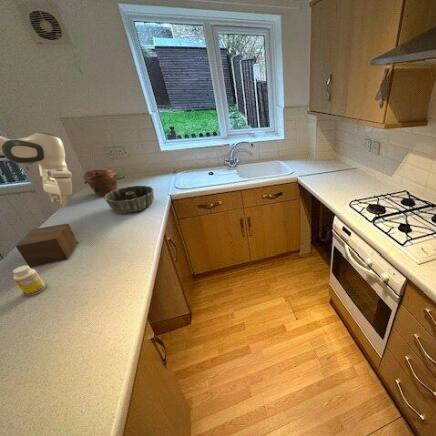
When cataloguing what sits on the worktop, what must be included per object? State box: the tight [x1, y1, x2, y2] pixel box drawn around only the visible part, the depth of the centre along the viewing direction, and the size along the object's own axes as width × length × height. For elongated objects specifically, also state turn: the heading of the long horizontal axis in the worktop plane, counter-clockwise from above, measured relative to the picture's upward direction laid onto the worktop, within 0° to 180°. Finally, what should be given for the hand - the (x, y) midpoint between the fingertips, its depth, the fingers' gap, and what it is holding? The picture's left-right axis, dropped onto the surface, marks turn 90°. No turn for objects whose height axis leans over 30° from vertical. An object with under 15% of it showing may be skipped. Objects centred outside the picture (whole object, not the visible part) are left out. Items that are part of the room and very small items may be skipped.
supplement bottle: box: [12, 264, 46, 296], centre depth 86 cm, size 6×6×10 cm
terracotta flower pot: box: [83, 169, 118, 198], centre depth 170 cm, size 18×20×18 cm
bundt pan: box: [103, 185, 155, 214], centre depth 150 cm, size 26×26×10 cm
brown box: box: [15, 223, 79, 268], centre depth 106 cm, size 15×13×11 cm
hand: (59, 203), depth 107 cm, fingers open, 8 cm apart
